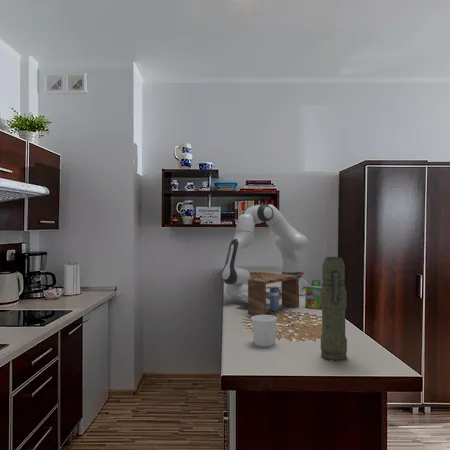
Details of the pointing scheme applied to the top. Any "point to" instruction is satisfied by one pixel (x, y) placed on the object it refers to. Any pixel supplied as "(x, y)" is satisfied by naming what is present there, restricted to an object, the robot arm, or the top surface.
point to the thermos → (333, 310)
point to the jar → (274, 299)
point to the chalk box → (313, 295)
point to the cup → (264, 329)
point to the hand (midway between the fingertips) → (267, 296)
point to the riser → (259, 292)
